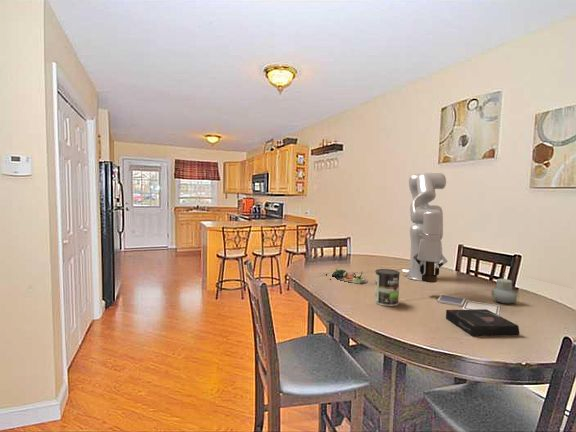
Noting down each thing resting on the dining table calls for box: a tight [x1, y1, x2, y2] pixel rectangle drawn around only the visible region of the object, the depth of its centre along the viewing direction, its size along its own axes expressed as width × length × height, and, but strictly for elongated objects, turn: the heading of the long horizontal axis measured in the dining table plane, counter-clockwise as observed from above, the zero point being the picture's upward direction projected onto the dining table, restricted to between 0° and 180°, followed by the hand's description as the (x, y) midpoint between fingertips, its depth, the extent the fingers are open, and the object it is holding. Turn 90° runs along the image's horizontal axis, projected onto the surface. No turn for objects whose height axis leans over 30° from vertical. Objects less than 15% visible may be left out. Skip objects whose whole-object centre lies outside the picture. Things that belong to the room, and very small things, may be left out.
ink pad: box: [436, 294, 466, 308], centre depth 153 cm, size 10×10×1 cm
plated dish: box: [332, 267, 368, 285], centre depth 191 cm, size 35×28×7 cm
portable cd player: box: [445, 309, 520, 337], centre depth 124 cm, size 16×17×4 cm
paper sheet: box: [461, 299, 501, 316], centre depth 144 cm, size 13×15×1 cm
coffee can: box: [374, 268, 401, 307], centre depth 150 cm, size 10×10×14 cm
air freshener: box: [491, 278, 518, 305], centre depth 153 cm, size 11×8×10 cm
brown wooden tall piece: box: [421, 261, 438, 284], centre depth 160 cm, size 7×6×18 cm
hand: (429, 274), depth 160 cm, fingers closed on brown wooden tall piece, 5 cm apart
